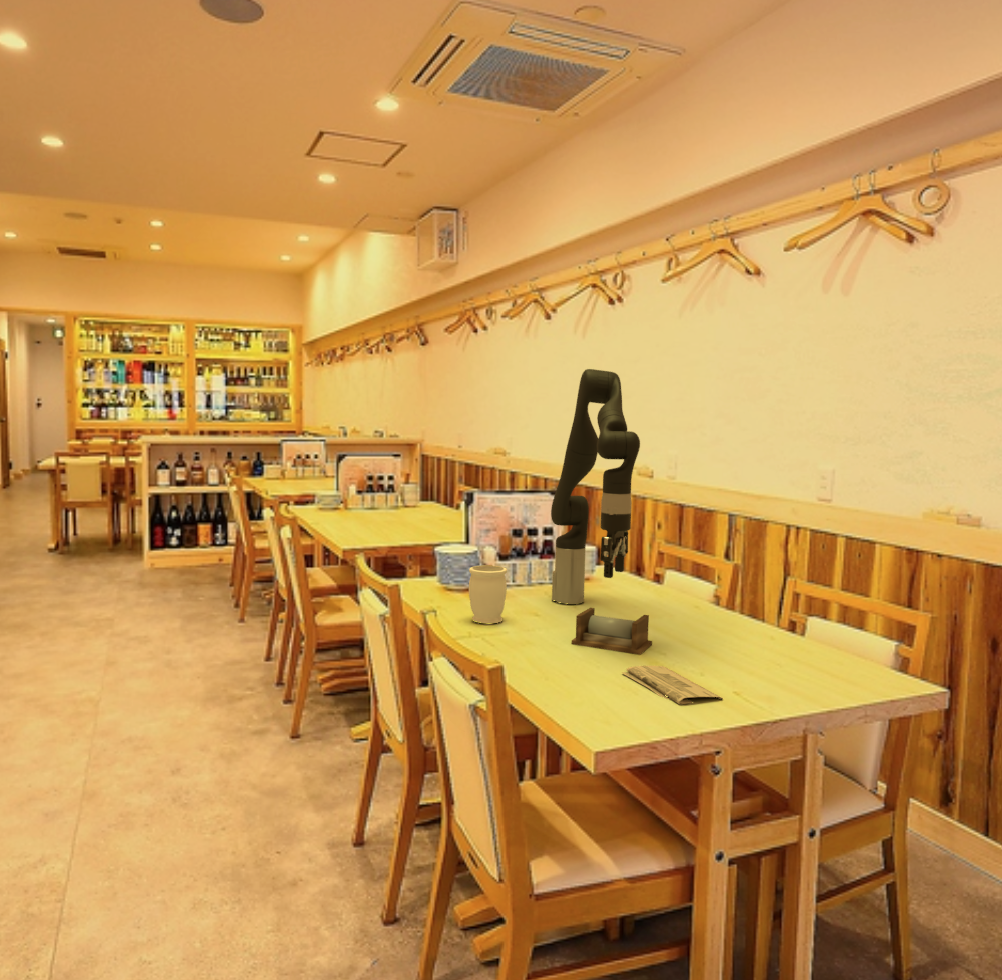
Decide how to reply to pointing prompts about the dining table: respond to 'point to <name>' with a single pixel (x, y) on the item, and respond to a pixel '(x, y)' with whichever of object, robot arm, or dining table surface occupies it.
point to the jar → (487, 593)
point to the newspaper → (668, 683)
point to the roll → (610, 627)
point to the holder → (612, 643)
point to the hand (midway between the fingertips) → (613, 574)
